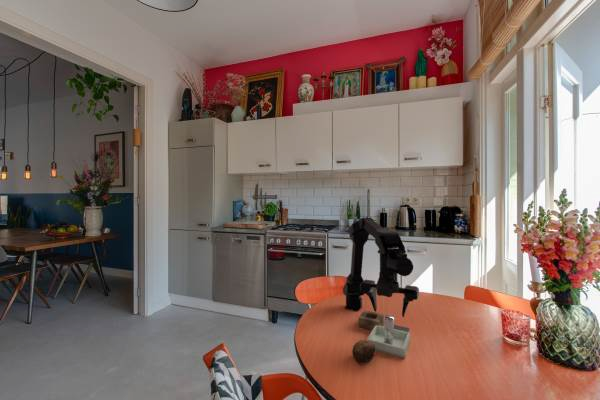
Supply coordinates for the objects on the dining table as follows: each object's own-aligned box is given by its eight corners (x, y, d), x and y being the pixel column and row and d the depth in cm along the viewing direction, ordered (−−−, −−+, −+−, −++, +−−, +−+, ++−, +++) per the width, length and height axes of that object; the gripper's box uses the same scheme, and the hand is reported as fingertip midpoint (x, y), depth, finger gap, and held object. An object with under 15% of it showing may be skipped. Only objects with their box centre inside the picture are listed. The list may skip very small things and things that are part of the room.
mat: (386, 332, 102) (386, 331, 102) (390, 324, 108) (390, 323, 108) (406, 337, 98) (406, 335, 98) (409, 328, 104) (409, 327, 104)
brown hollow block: (358, 327, 105) (358, 317, 105) (364, 319, 112) (364, 310, 112) (379, 332, 102) (379, 322, 102) (383, 324, 108) (383, 314, 108)
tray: (366, 348, 91) (366, 339, 91) (375, 333, 101) (375, 325, 101) (404, 358, 85) (404, 349, 85) (410, 341, 95) (409, 332, 95)
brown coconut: (382, 346, 86) (371, 331, 85) (381, 369, 79) (369, 354, 78) (360, 351, 90) (350, 338, 89) (358, 374, 83) (346, 359, 82)
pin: (383, 343, 92) (384, 317, 92) (385, 339, 95) (386, 314, 95) (392, 346, 91) (393, 319, 91) (394, 342, 94) (394, 316, 94)
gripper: (354, 270, 91) (355, 317, 90) (414, 277, 81) (415, 329, 81) (364, 263, 100) (364, 305, 100) (418, 269, 91) (419, 316, 91)
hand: (389, 313), depth 93 cm, fingers open, 9 cm apart
